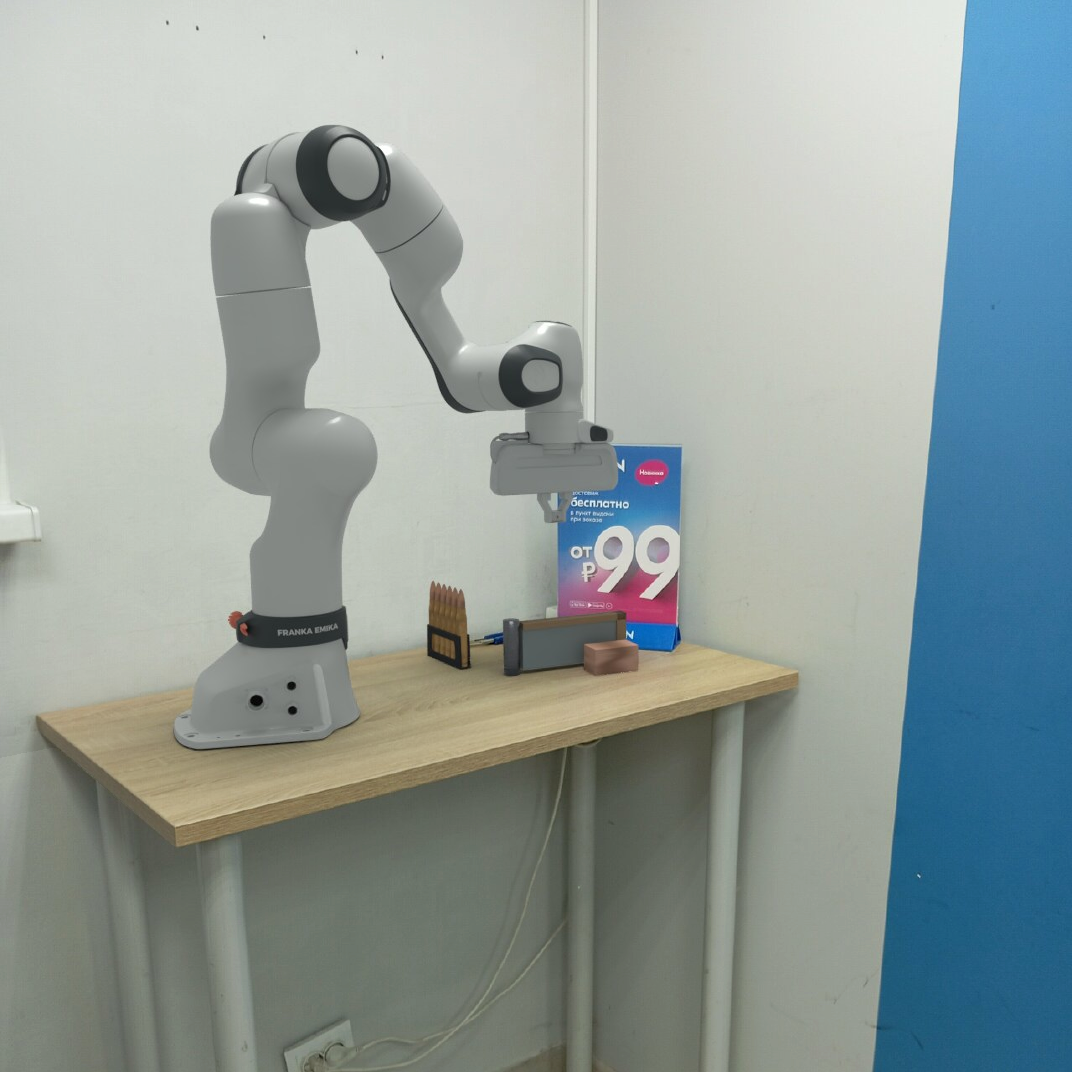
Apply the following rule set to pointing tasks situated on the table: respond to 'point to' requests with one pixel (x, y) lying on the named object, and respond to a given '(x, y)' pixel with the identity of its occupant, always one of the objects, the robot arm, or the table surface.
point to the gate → (566, 637)
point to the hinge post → (511, 647)
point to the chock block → (611, 657)
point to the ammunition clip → (448, 627)
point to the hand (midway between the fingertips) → (555, 522)
